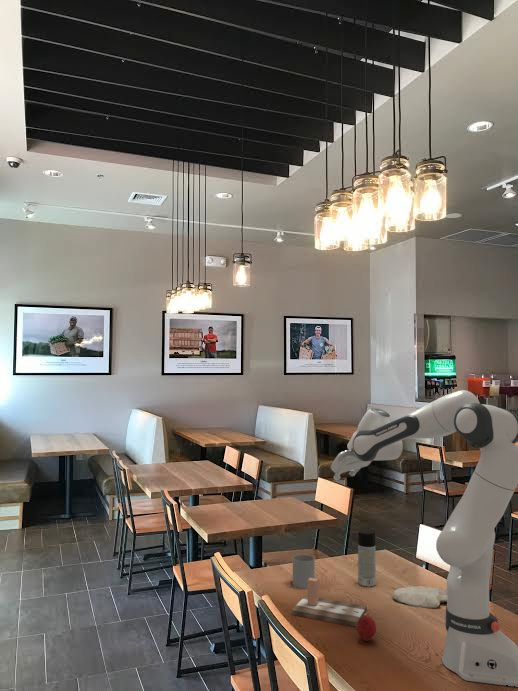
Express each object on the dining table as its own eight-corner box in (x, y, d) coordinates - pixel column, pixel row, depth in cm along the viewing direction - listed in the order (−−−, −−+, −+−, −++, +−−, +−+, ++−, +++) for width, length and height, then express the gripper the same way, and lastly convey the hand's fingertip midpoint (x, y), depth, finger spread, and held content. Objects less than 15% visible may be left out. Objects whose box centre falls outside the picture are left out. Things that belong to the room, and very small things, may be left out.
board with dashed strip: (367, 610, 187) (367, 605, 187) (356, 627, 174) (356, 621, 174) (306, 599, 196) (306, 594, 196) (292, 614, 183) (292, 609, 183)
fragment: (459, 608, 190) (458, 594, 190) (405, 618, 187) (403, 604, 187) (438, 588, 205) (437, 575, 205) (387, 597, 202) (386, 584, 202)
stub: (318, 603, 188) (318, 579, 189) (316, 605, 186) (316, 581, 187) (310, 601, 189) (310, 577, 190) (307, 604, 187) (307, 579, 188)
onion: (372, 647, 161) (372, 618, 161) (353, 642, 164) (353, 614, 164) (379, 639, 166) (378, 612, 166) (361, 634, 169) (360, 607, 169)
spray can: (378, 583, 213) (377, 530, 215) (372, 588, 207) (371, 534, 209) (362, 579, 217) (361, 528, 218) (355, 585, 211) (355, 531, 212)
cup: (313, 589, 206) (313, 562, 207) (291, 587, 208) (291, 560, 209) (315, 581, 214) (315, 555, 215) (294, 580, 216) (294, 554, 217)
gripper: (349, 457, 185) (332, 488, 190) (382, 449, 200) (365, 478, 205) (336, 445, 189) (320, 476, 194) (369, 438, 204) (353, 467, 209)
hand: (343, 477), depth 200 cm, fingers open, 8 cm apart
